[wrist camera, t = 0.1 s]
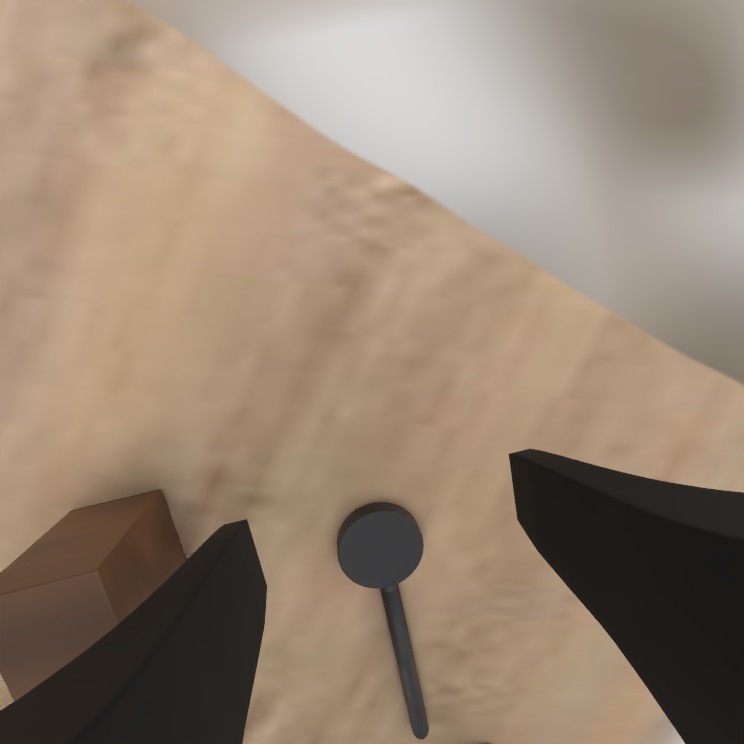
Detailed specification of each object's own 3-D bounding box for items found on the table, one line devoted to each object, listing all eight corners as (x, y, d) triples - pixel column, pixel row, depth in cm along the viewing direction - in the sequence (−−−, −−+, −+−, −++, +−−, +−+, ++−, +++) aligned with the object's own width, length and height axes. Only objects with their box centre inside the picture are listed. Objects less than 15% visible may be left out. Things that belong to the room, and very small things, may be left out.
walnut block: (187, 563, 21) (136, 669, 15) (101, 586, 20) (14, 702, 15) (161, 488, 20) (96, 570, 14) (70, 510, 20) (-36, 603, 14)
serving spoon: (454, 714, 25) (460, 731, 24) (384, 736, 25) (386, 754, 24) (411, 493, 22) (416, 502, 21) (329, 514, 21) (329, 524, 20)
